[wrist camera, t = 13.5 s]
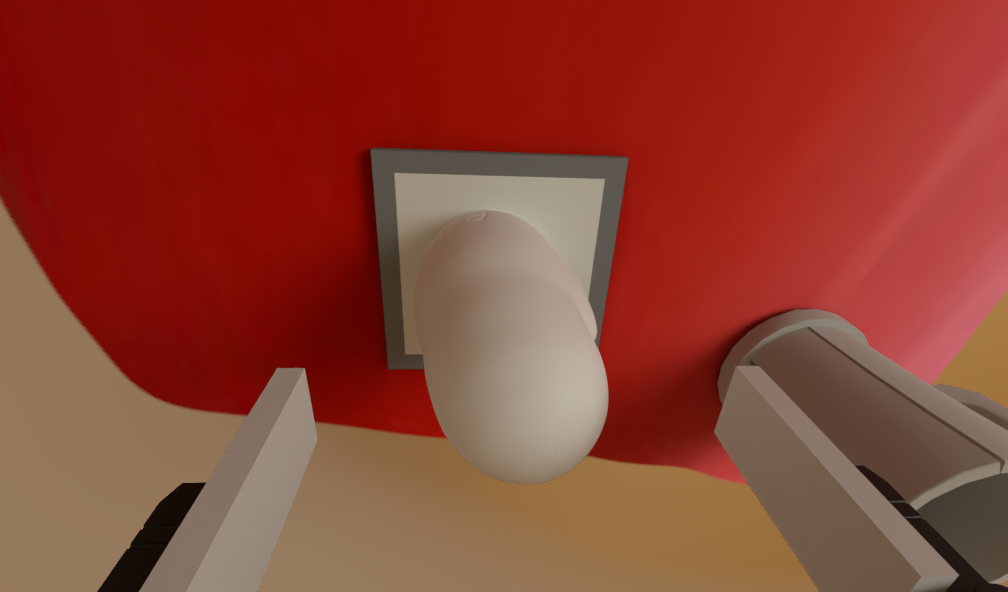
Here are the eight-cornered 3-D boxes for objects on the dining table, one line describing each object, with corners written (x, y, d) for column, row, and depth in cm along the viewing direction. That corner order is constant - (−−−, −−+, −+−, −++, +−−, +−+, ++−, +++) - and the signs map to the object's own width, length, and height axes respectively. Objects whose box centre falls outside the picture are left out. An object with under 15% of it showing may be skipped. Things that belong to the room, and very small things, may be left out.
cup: (836, 256, 26) (1101, 390, 15) (901, 347, 29) (1157, 509, 18) (686, 372, 29) (819, 554, 18) (761, 443, 32) (912, 633, 21)
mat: (372, 147, 21) (370, 149, 21) (624, 156, 22) (628, 158, 22) (389, 363, 27) (388, 369, 26) (592, 361, 28) (595, 367, 27)
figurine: (482, 356, 26) (495, 556, 15) (390, 257, 23) (327, 420, 12) (587, 286, 25) (683, 453, 14) (505, 171, 22) (546, 271, 11)
